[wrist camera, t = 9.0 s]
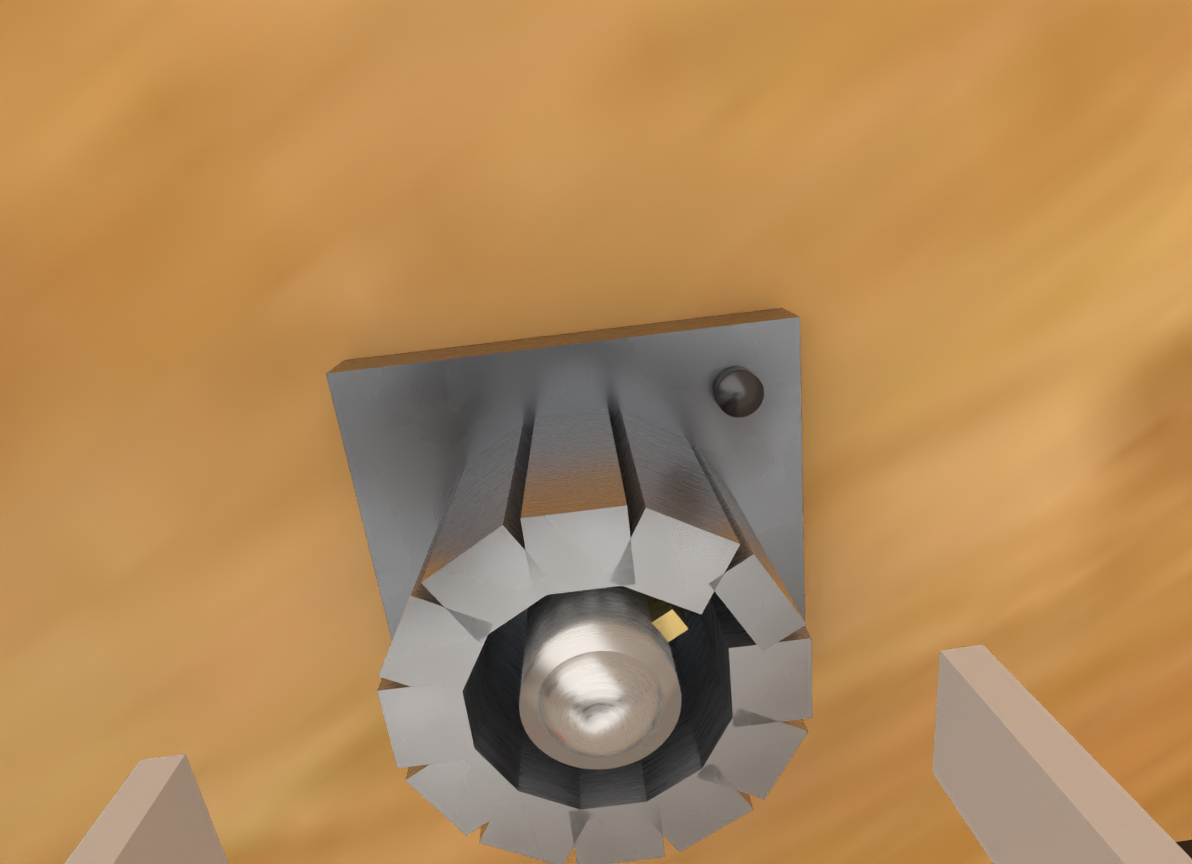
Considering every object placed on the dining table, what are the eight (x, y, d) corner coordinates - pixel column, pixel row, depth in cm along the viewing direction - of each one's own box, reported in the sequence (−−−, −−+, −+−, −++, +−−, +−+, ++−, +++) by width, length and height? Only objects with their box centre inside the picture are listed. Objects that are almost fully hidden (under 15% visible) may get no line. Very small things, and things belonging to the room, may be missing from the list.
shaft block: (428, 715, 22) (356, 988, 15) (344, 360, 19) (185, 474, 11) (790, 672, 22) (909, 920, 15) (782, 307, 19) (936, 384, 11)
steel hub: (466, 695, 20) (428, 885, 15) (410, 432, 18) (337, 540, 12) (745, 661, 20) (814, 838, 15) (731, 393, 18) (809, 483, 12)
